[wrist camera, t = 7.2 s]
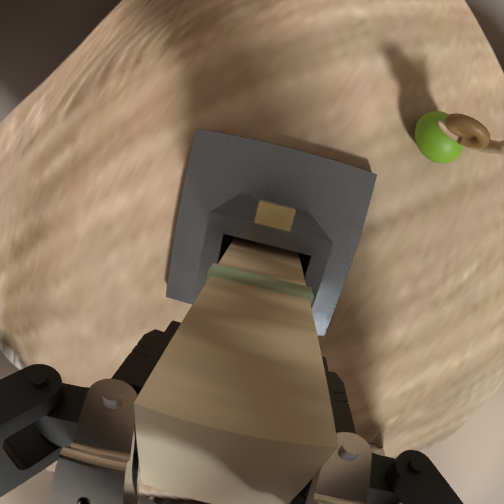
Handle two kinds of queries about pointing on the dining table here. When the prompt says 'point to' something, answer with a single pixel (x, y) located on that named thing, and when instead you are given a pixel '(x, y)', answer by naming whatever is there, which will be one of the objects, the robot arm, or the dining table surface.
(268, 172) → the sleeve stand
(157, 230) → the dining table surface
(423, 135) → the snail figurine
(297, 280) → the post
